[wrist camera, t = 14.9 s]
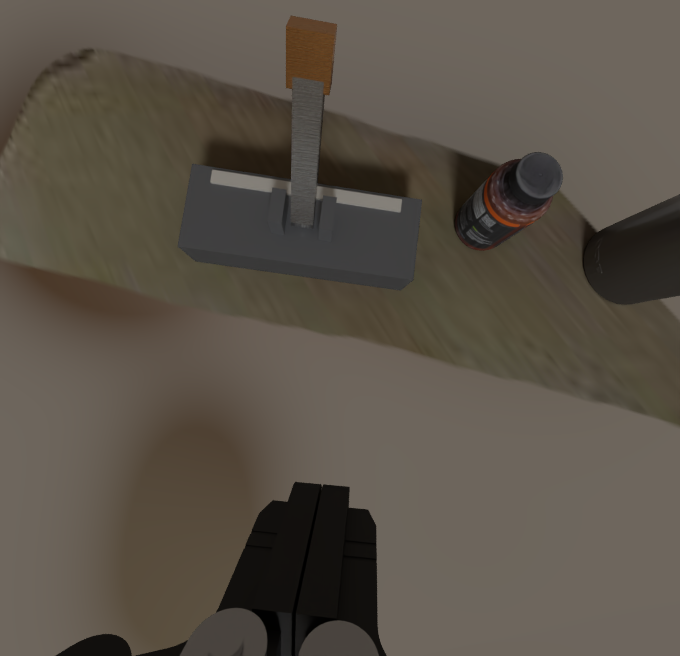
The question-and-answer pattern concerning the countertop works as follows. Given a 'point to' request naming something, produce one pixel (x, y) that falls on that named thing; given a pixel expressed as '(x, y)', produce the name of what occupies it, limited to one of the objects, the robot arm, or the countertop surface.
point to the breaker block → (299, 229)
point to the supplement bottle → (509, 201)
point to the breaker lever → (307, 107)
